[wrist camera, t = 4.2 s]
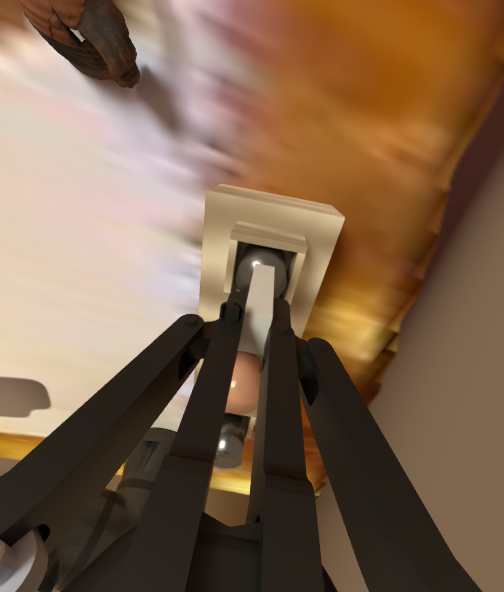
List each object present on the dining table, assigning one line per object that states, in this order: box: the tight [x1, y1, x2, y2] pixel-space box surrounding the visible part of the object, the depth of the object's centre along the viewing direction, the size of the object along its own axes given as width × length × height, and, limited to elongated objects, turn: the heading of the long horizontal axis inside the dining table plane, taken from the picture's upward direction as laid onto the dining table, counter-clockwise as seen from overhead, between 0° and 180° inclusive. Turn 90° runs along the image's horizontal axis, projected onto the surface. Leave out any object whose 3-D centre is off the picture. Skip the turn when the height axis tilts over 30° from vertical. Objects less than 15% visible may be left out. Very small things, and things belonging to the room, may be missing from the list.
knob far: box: [214, 413, 246, 468], centre depth 29 cm, size 4×4×4 cm
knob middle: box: [225, 351, 261, 414], centre depth 24 cm, size 4×4×4 cm
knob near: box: [236, 244, 287, 298], centre depth 21 cm, size 4×4×4 cm
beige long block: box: [194, 184, 345, 441], centre depth 29 cm, size 32×12×10 cm, turn 170°
